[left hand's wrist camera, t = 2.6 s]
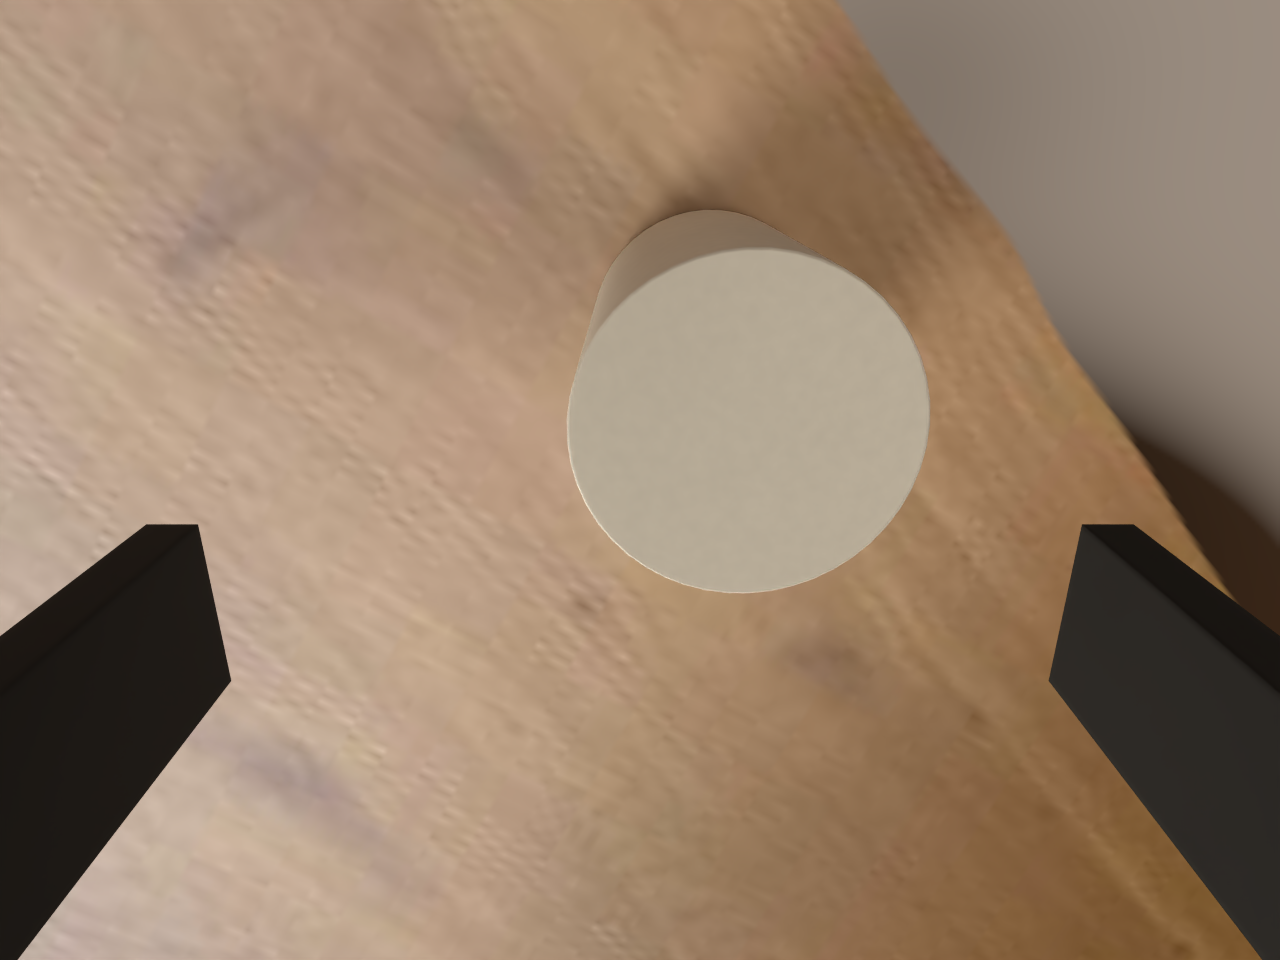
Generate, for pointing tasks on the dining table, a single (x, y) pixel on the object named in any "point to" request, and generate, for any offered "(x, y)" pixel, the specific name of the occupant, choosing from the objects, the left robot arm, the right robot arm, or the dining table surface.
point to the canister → (743, 406)
